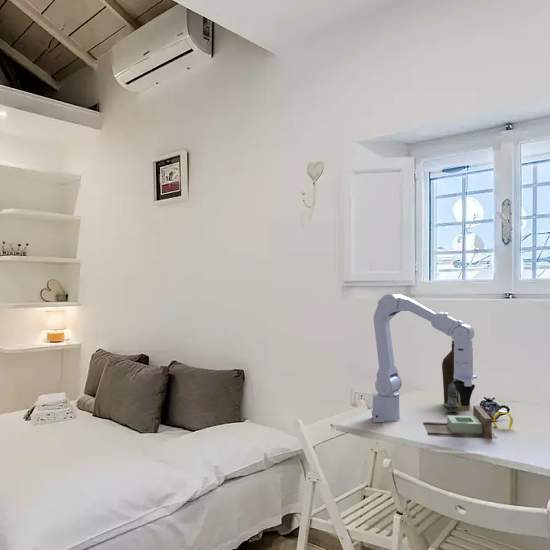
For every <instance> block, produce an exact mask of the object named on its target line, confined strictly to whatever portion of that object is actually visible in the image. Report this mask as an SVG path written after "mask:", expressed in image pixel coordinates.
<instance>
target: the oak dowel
mask: <svg viewBox="0 0 550 550" xmlns="http://www.w3.org/2000/svg"><path fill="white" fill-rule="evenodd" d="M458 393H459V391H458ZM459 411H463V412H464V411H465V412H466V411H470V406H462V405H461V401H460V395H459Z"/></svg>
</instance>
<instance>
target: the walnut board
mask: <svg viewBox="0 0 550 550" xmlns="http://www.w3.org/2000/svg"><path fill="white" fill-rule="evenodd" d="M472 406H473V411H472V413H473V414H472V416H476V417H477V418H478V420H479V421H480V422H481V423H482V434H478V433H452V432H451V431H450V429H449V427H448V426H447V422H440V421H439V422H438V421H423V422H422V424H423V426H424V428H425V430H426V432H427V435H428V437H437V438H438V437H439V438H440V437H442V438H468V439H469V438H471V439H492V440H493V439H494V440H495V439H498V438H497V436H495V434H493V431H492V430H493V429H492V428H493V427H492V426H493V424H492V423H493V418H492V417H491V416H490V415H489V414H488V413H487V412H486V411H485V409H483V408H482V407H481V406H480V405H472Z"/></svg>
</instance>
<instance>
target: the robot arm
mask: <svg viewBox="0 0 550 550" xmlns="http://www.w3.org/2000/svg"><path fill="white" fill-rule="evenodd" d="M400 312H410V313H412V314H414V315H417V316H418V317H421V318H423V319H424V320H427V321H429V322H430V324H431V327H433V329H436V330H437V331H439V332H441V333H443V334H444V335H446V336H448V337H451V339H452V340H454V378H455V379H458V380H453V383H454V385H455V387H456V390H457V395H458V400H459V395H460V401H461V405H462V406H469V403H470V404H471V397H472V394H473V391H474V390H475V388H476V385H475V384H473V383H472V382H473V380H475V379H478V376H477V375H474V356H473V355H474V354H473V351H474V348H473V339H474V337H475V329H474V328H473V327H472V325H470V324H469V323H462V322H463V321H462V320H460V319H458V320H457V319H455V318H453V317H452V316H449V312H446V311H445V312H442V311H439V312H434V311H432V310H431V309H429V308H428V307H425V306H424V305H422V304H420V303H419V302H417V301H415V300H414V299H412V298H411V297H408V296H405V295H403V294H402V293H393V294H389V293H388V294H384V295H383V296H382V297H381V298H380V299H378V301H377V307H376V309H375V312H374V314H373V318H372V319H373V325H374V326H373V327H374V335H375V344H376V352H377V360H378V361H377V362H378V369H377V372H376V381H375V385H374V387H375V391H376V392H377V394H376V393H375V394H372V410H371V417H372V421H373V423H385V422H391V423H392V422H394V423H396V422H397V423H398V422H400V423H401V417H400V392H399V390H400V389H401V387H402V384H403V382H402V378H401V377H400V375H399V371H398V369H397V367H396V366H395V360H394V350H393V341H392V334H391V326H390V321H391V320H392V319H393V318H394V317H395V316H396V315H397V314H398V313H400ZM458 391H459V393H458ZM469 407H470V406H469Z"/></svg>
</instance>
